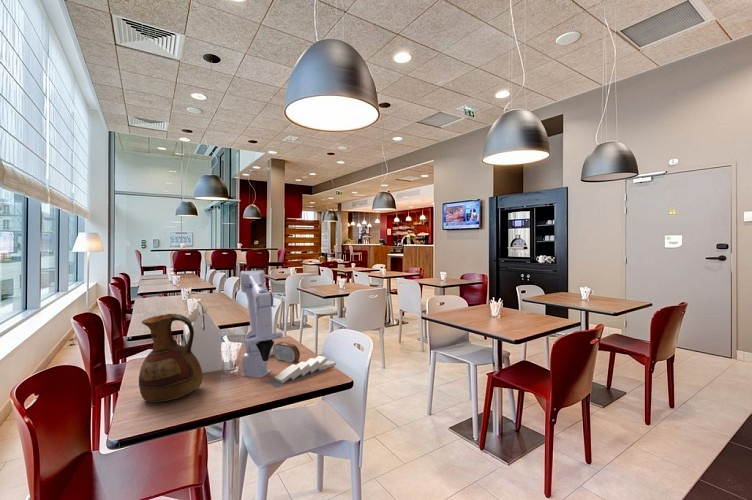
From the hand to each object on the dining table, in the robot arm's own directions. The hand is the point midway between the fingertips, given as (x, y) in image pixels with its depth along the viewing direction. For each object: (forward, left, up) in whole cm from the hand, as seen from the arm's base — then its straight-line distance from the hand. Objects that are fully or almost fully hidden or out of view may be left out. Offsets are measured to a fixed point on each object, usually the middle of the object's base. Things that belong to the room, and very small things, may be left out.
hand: (265, 360), depth 137 cm
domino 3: (+7, +13, -9) cm, 17 cm away
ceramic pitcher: (-30, -13, -11) cm, 35 cm away
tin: (-6, +29, -11) cm, 32 cm away
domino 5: (+12, +20, -9) cm, 25 cm away
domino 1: (+3, +5, -9) cm, 11 cm away
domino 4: (+10, +17, -9) cm, 21 cm away
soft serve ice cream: (-23, +38, -11) cm, 46 cm away
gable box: (-41, +17, -11) cm, 46 cm away
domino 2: (+5, +9, -9) cm, 14 cm away
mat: (+7, +12, -10) cm, 17 cm away
